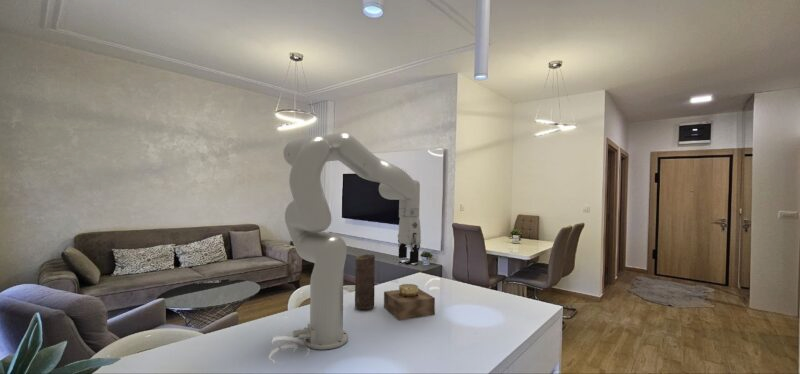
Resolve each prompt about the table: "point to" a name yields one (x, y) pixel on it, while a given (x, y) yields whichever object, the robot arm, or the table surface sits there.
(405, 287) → the pin
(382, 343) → the table surface
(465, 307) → the table surface
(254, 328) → the table surface
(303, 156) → the robot arm
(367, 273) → the brown wooden cylinder
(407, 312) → the block
